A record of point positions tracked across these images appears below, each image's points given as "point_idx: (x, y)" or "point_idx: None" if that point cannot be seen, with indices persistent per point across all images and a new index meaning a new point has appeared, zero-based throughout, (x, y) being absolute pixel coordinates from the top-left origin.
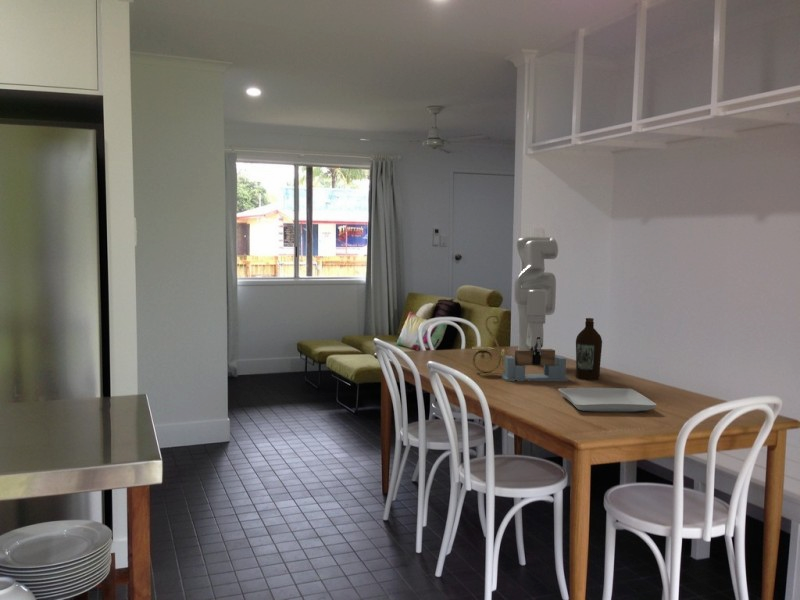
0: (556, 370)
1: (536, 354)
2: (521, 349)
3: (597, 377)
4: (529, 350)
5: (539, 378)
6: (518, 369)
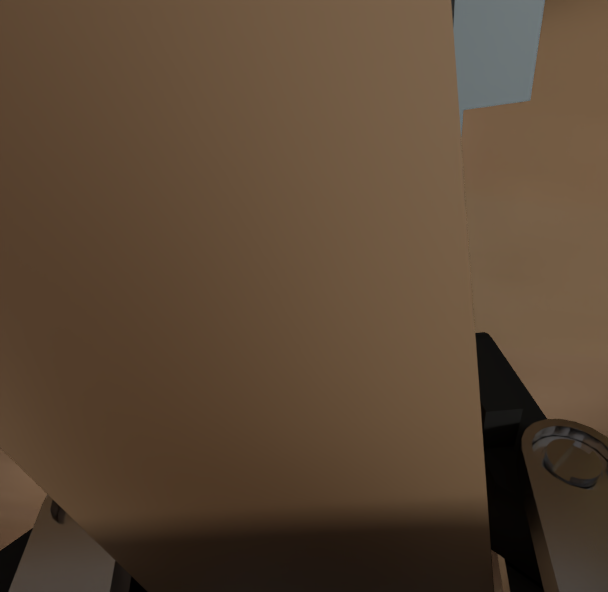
0: None
1: None
2: (450, 176)
3: None
4: (147, 498)
5: None
6: None
